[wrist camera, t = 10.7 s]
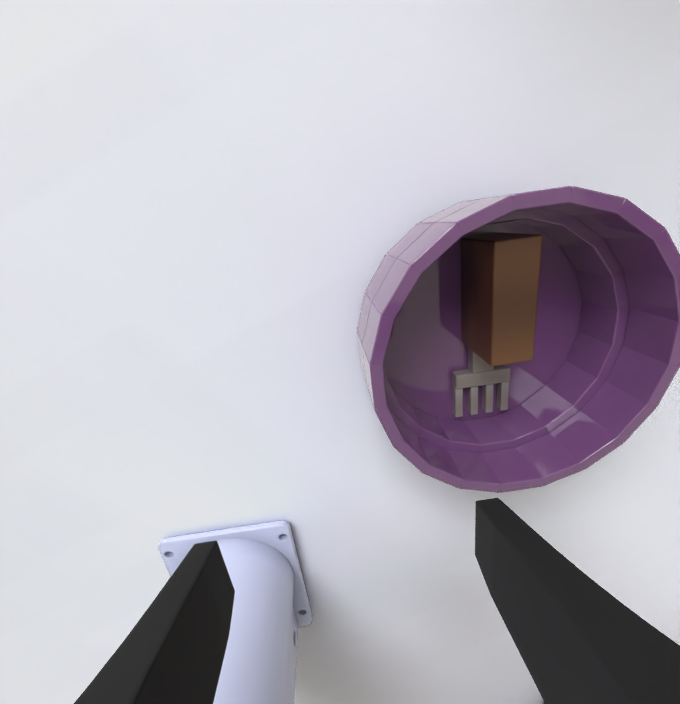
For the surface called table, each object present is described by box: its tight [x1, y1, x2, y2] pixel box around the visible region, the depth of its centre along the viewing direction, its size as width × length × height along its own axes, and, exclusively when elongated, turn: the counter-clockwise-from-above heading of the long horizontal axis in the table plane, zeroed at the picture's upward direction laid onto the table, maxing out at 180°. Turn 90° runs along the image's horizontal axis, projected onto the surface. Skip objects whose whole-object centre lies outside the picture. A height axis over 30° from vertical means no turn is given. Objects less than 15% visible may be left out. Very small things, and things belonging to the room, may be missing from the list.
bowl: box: [357, 186, 680, 493], centre depth 15 cm, size 12×12×5 cm
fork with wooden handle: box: [452, 232, 542, 417], centre depth 15 cm, size 9×3×3 cm, turn 8°
